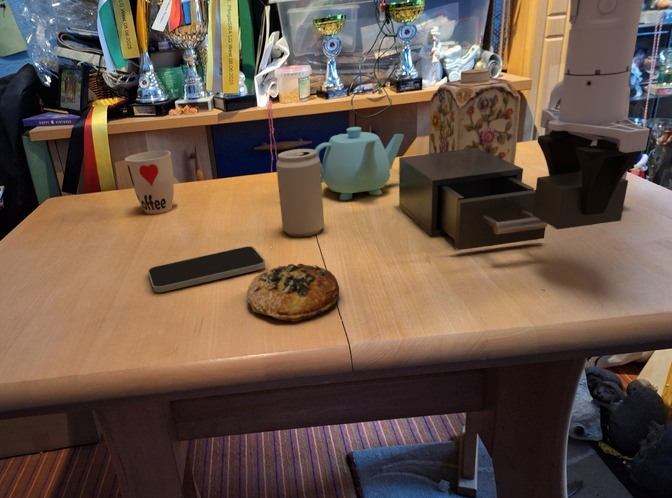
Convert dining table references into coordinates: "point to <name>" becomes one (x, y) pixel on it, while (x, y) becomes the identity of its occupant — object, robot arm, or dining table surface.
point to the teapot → (357, 162)
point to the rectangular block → (572, 202)
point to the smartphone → (205, 268)
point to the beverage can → (300, 192)
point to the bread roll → (293, 292)
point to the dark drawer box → (488, 212)
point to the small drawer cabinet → (444, 180)
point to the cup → (152, 180)
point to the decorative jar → (475, 115)
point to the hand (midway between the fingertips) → (576, 205)
